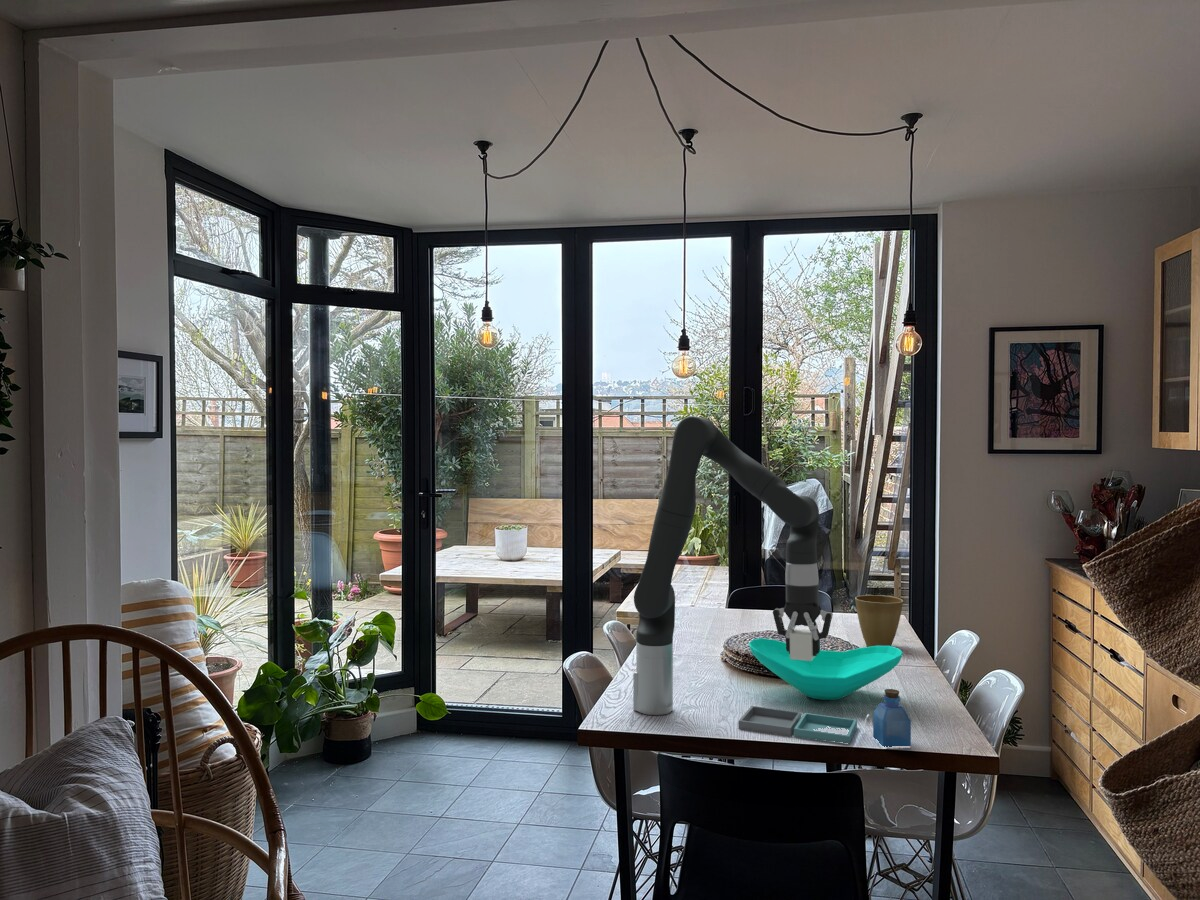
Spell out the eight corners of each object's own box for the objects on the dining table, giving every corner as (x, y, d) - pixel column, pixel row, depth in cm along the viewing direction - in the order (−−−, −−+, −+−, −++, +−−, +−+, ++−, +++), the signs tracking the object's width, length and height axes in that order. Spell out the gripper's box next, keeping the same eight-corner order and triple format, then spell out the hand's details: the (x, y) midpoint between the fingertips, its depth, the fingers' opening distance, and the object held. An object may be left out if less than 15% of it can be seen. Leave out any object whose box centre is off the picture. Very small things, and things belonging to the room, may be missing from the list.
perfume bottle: (899, 739, 194) (900, 686, 194) (910, 749, 188) (911, 695, 188) (873, 739, 194) (873, 687, 194) (883, 749, 188) (883, 695, 188)
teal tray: (794, 739, 194) (794, 728, 194) (804, 722, 205) (804, 712, 205) (849, 747, 189) (849, 736, 189) (856, 729, 200) (856, 719, 200)
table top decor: (743, 706, 218) (743, 655, 217) (752, 676, 244) (752, 630, 244) (907, 719, 207) (908, 665, 207) (898, 687, 234) (898, 639, 234)
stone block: (790, 659, 198) (789, 633, 198) (794, 653, 203) (794, 628, 203) (811, 660, 196) (811, 634, 196) (815, 655, 201) (815, 630, 200)
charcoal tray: (738, 730, 200) (738, 720, 200) (751, 715, 211) (751, 705, 211) (790, 738, 195) (790, 728, 195) (801, 722, 206) (801, 712, 206)
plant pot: (909, 653, 271) (909, 603, 271) (862, 652, 271) (862, 602, 271) (894, 641, 286) (894, 594, 285) (849, 641, 286) (849, 594, 286)
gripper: (767, 582, 199) (769, 655, 199) (830, 586, 193) (831, 661, 193) (775, 577, 205) (776, 648, 206) (835, 580, 200) (837, 653, 200)
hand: (803, 654), depth 199 cm, fingers closed on stone block, 5 cm apart
